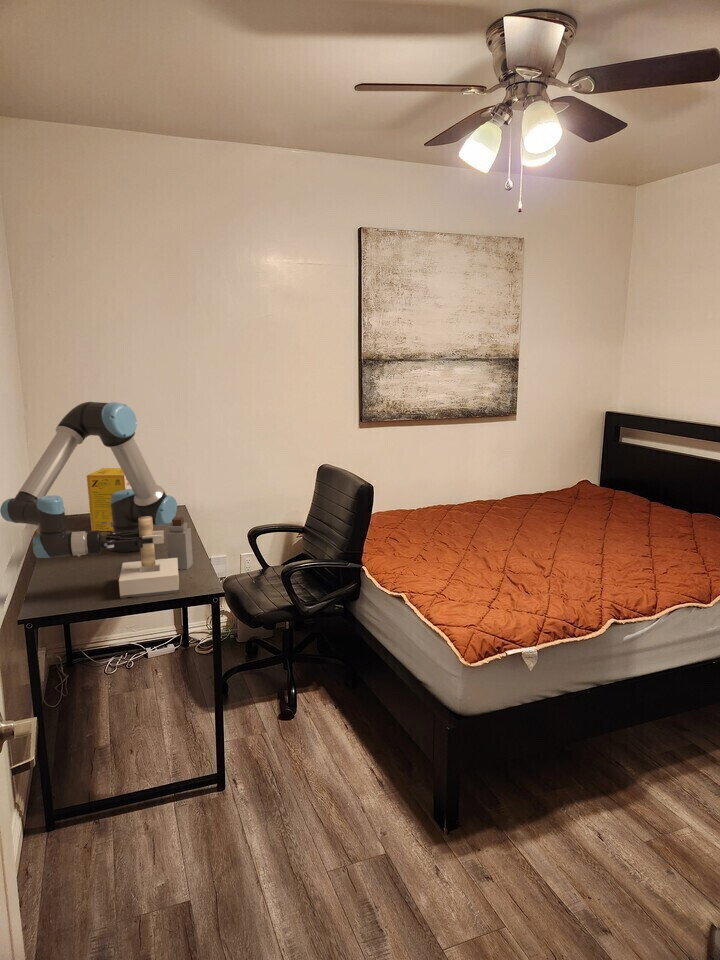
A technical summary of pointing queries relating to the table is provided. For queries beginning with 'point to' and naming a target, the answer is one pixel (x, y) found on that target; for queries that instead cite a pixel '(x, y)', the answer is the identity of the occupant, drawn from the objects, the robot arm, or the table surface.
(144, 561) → the birch peg
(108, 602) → the table surface
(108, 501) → the packaging box
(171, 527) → the perfume bottle
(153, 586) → the socket block
